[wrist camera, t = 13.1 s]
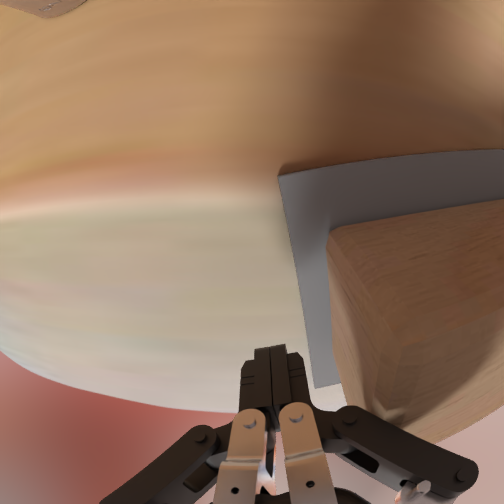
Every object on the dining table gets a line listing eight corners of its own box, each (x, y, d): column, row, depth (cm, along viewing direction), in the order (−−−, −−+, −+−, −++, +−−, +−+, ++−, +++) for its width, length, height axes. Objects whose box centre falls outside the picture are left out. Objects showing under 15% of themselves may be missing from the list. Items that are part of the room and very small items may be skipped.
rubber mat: (277, 175, 14) (278, 176, 14) (547, 149, 12) (551, 150, 11) (313, 384, 21) (314, 388, 20) (528, 301, 18) (530, 303, 18)
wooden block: (397, 350, 6) (611, 233, 4) (319, 223, 15) (529, 190, 13) (361, 474, 10) (571, 350, 8) (330, 353, 19) (512, 291, 17)
